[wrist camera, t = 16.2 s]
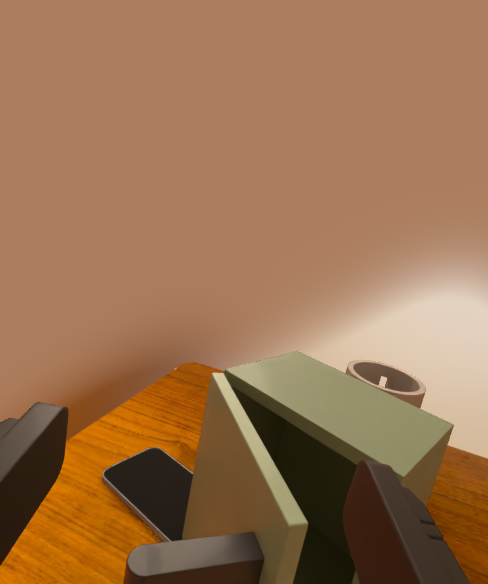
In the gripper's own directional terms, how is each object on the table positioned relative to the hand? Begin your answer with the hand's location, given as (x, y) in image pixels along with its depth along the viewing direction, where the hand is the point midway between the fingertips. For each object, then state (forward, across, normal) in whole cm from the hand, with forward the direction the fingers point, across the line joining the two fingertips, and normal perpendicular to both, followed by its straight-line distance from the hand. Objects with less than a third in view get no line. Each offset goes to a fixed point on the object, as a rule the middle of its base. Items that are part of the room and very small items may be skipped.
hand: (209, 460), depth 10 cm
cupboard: (+17, -10, +22) cm, 30 cm away
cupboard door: (+10, 0, +22) cm, 24 cm away
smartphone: (+22, +1, +23) cm, 32 cm away
